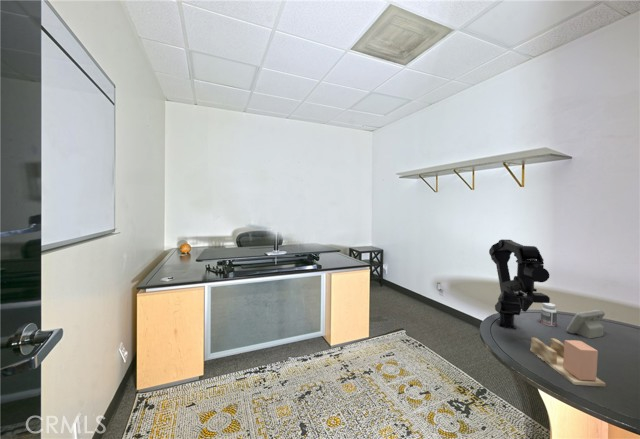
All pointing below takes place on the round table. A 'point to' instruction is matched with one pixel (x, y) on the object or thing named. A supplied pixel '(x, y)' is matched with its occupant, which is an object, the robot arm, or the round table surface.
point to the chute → (558, 360)
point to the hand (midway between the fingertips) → (524, 311)
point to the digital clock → (587, 324)
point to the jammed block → (580, 360)
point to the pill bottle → (548, 314)
